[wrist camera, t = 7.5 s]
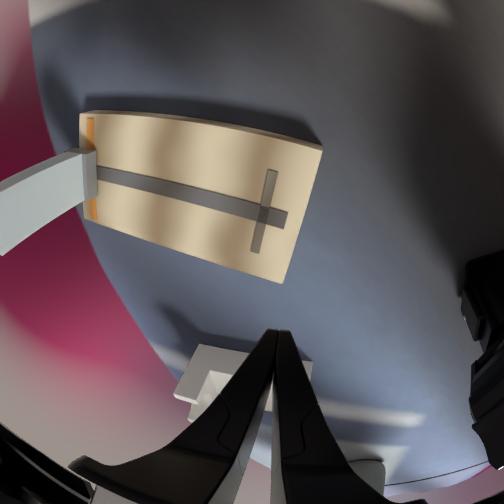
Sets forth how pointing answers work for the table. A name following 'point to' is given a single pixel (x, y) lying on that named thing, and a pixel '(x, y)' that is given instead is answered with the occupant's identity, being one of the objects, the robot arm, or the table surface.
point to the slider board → (201, 186)
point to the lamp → (371, 473)
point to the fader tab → (45, 194)
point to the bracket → (213, 377)
